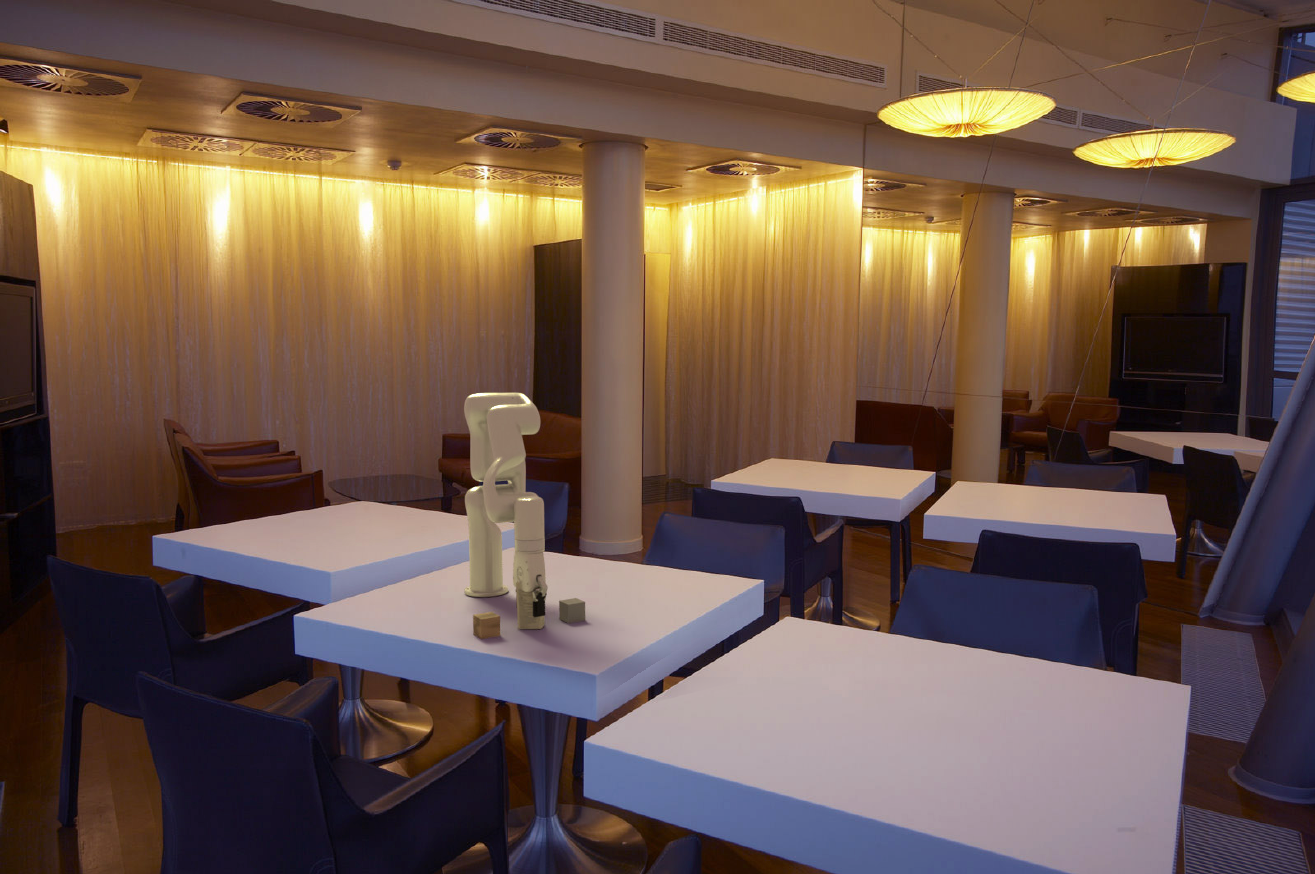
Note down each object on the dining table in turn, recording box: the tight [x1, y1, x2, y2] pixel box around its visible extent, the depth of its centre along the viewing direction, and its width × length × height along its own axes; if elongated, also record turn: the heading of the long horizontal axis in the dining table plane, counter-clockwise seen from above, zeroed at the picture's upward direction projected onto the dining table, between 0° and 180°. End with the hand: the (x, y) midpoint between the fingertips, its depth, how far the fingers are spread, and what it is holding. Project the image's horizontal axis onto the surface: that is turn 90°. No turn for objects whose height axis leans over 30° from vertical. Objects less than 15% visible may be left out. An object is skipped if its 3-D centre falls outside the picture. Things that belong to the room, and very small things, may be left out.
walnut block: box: [472, 611, 501, 640], centre depth 223 cm, size 5×5×5 cm
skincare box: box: [515, 581, 546, 630], centre depth 229 cm, size 6×4×12 cm
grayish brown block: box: [558, 597, 586, 624], centre depth 236 cm, size 5×5×5 cm
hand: (530, 611), depth 229 cm, fingers open, 9 cm apart
